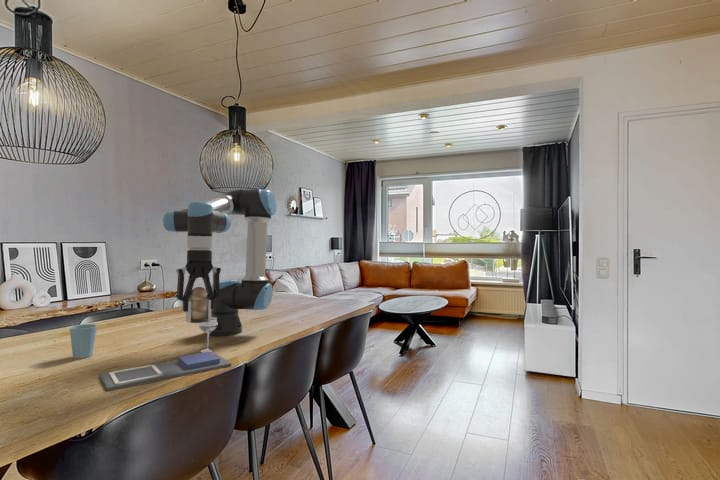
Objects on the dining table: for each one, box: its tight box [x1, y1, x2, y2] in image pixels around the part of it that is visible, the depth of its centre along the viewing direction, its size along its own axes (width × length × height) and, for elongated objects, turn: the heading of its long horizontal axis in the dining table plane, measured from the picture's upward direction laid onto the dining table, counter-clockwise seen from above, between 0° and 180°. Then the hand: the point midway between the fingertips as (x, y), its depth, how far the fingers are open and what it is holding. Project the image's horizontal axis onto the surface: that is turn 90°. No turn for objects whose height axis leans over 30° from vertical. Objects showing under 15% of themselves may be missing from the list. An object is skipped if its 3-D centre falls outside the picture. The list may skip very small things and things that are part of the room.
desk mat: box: [99, 352, 232, 392], centre depth 118 cm, size 34×14×2 cm, turn 131°
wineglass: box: [197, 317, 218, 353], centre depth 140 cm, size 7×7×12 cm
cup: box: [69, 323, 98, 360], centre depth 131 cm, size 8×8×10 cm
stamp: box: [189, 286, 208, 324], centre depth 123 cm, size 6×6×11 cm
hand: (198, 320), depth 123 cm, fingers closed on stamp, 6 cm apart
